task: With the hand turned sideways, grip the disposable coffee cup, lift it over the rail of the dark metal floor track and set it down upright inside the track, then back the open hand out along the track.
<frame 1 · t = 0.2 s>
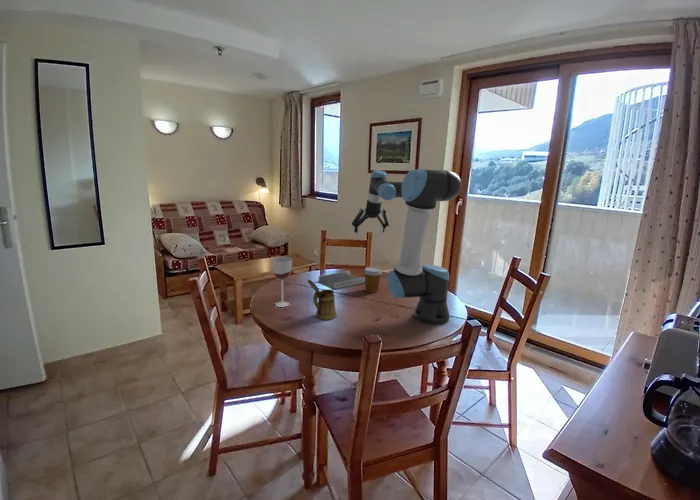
hand: (368, 237, 195), 27 cm above the table, tool tilted 15°, fingers open, 13 cm apart
floor track: (342, 282, 205), on the table
wooden mug: (321, 317, 157), on the table
disposable coffee cup: (371, 291, 192), on the table
wineglass: (282, 305, 169), on the table
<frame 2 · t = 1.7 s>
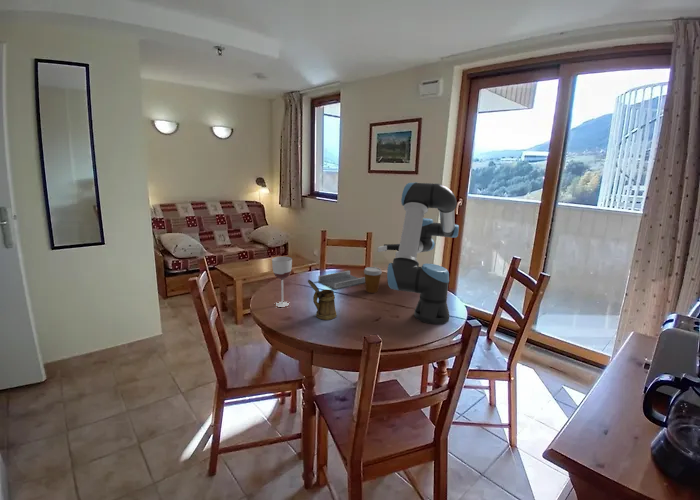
hand: (386, 251, 194), 20 cm above the table, tool horizontal, fingers open, 13 cm apart
nothing on the table moved.
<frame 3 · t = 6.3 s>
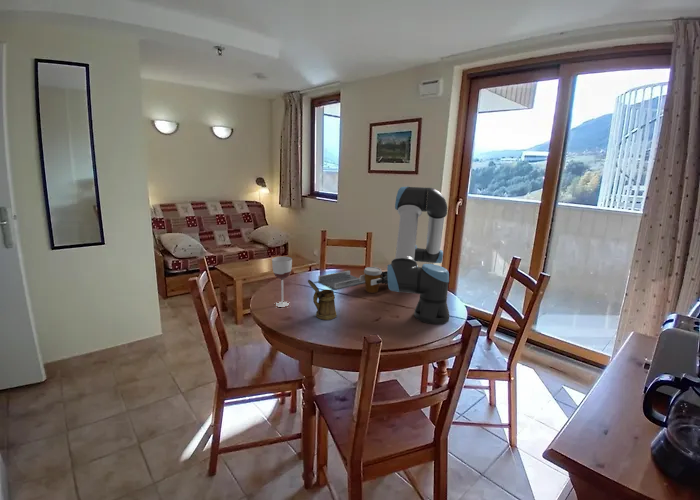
hand: (365, 280, 188), 7 cm above the table, tool horizontal, fingers closed on disposable coffee cup, 8 cm apart
disposable coffee cup: (371, 291, 192), on the table, touching gripper
everything else where it was.
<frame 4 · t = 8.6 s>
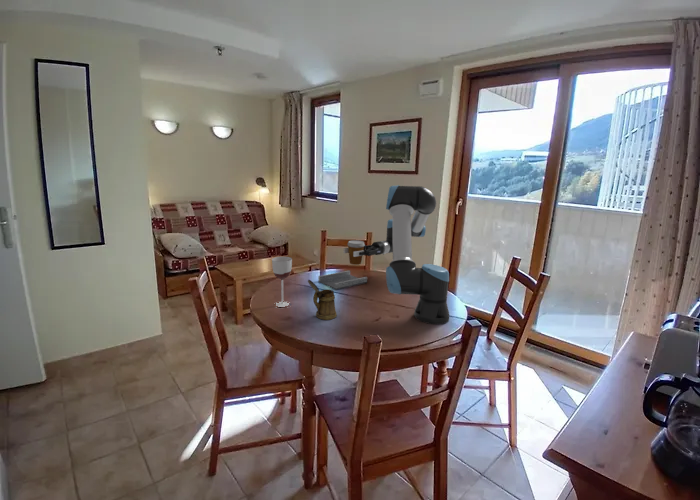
hand: (348, 252, 195), 19 cm above the table, tool horizontal, fingers closed on disposable coffee cup, 8 cm apart
disposable coffee cup: (355, 263, 199), point 12 cm above the table, touching gripper
everything else where it was.
when the fingers open (9 cm above the table, at t = 11.2 s): disposable coffee cup drops 1 cm, resting on floor track.
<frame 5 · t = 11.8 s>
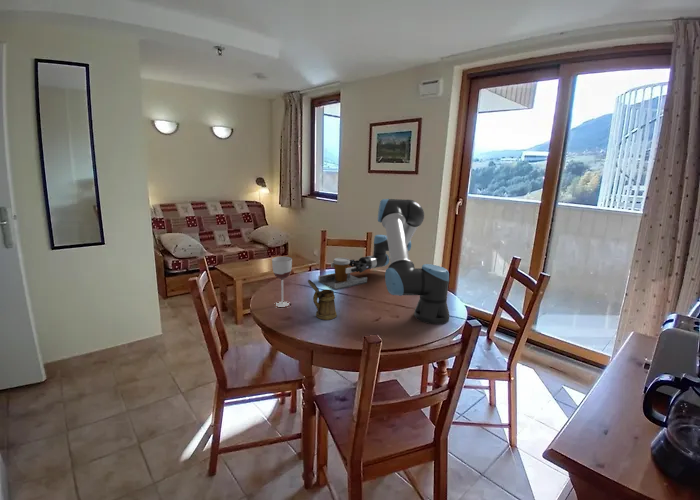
hand: (338, 268, 201), 9 cm above the table, tool horizontal, fingers open, 13 cm apart
disposable coffee cup: (341, 280, 206), point 1 cm above the table, touching floor track, gripper
everything else where it was.
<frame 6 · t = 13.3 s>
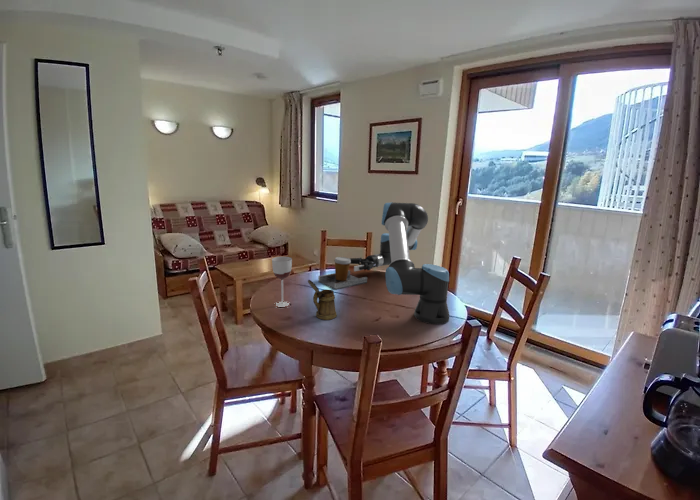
hand: (346, 266, 205), 9 cm above the table, tool horizontal, fingers open, 13 cm apart
disposable coffee cup: (340, 279, 207), point 1 cm above the table, touching floor track
everything else where it was.
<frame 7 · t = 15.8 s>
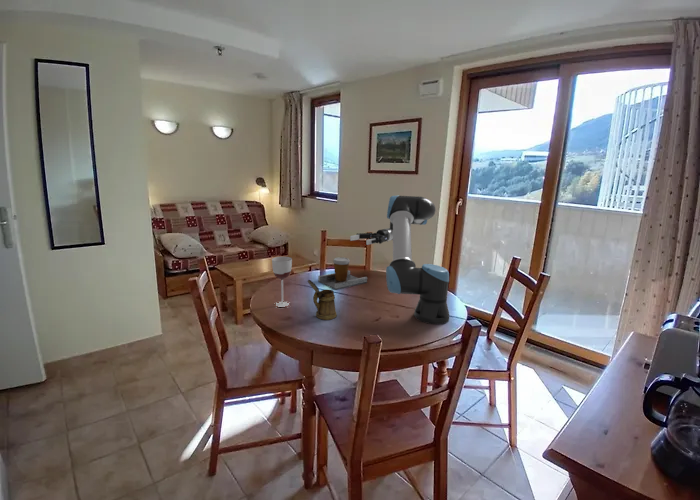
hand: (358, 240, 205), 23 cm above the table, tool horizontal, fingers open, 13 cm apart
nothing on the table moved.
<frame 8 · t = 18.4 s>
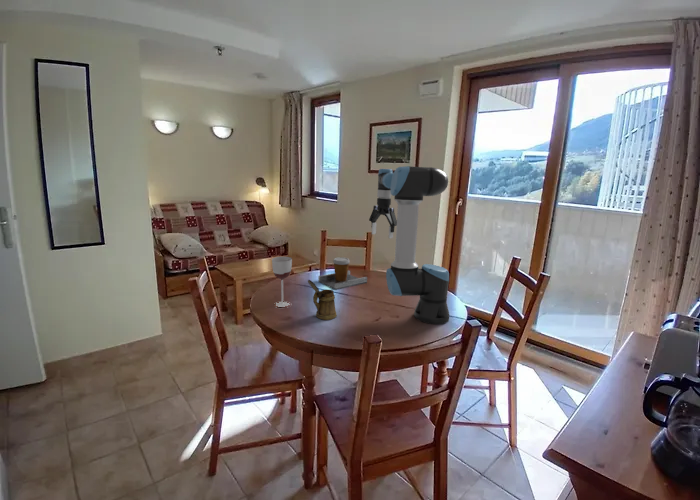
hand: (382, 236, 202), 27 cm above the table, tool pointing down, fingers open, 13 cm apart
nothing on the table moved.
at the end: disposable coffee cup inside the target area on the floor track (3.0 cm from its centre), point 0.6 cm above the floor track's base; disposable coffee cup tilted 0°; the gripper is holding nothing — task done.
